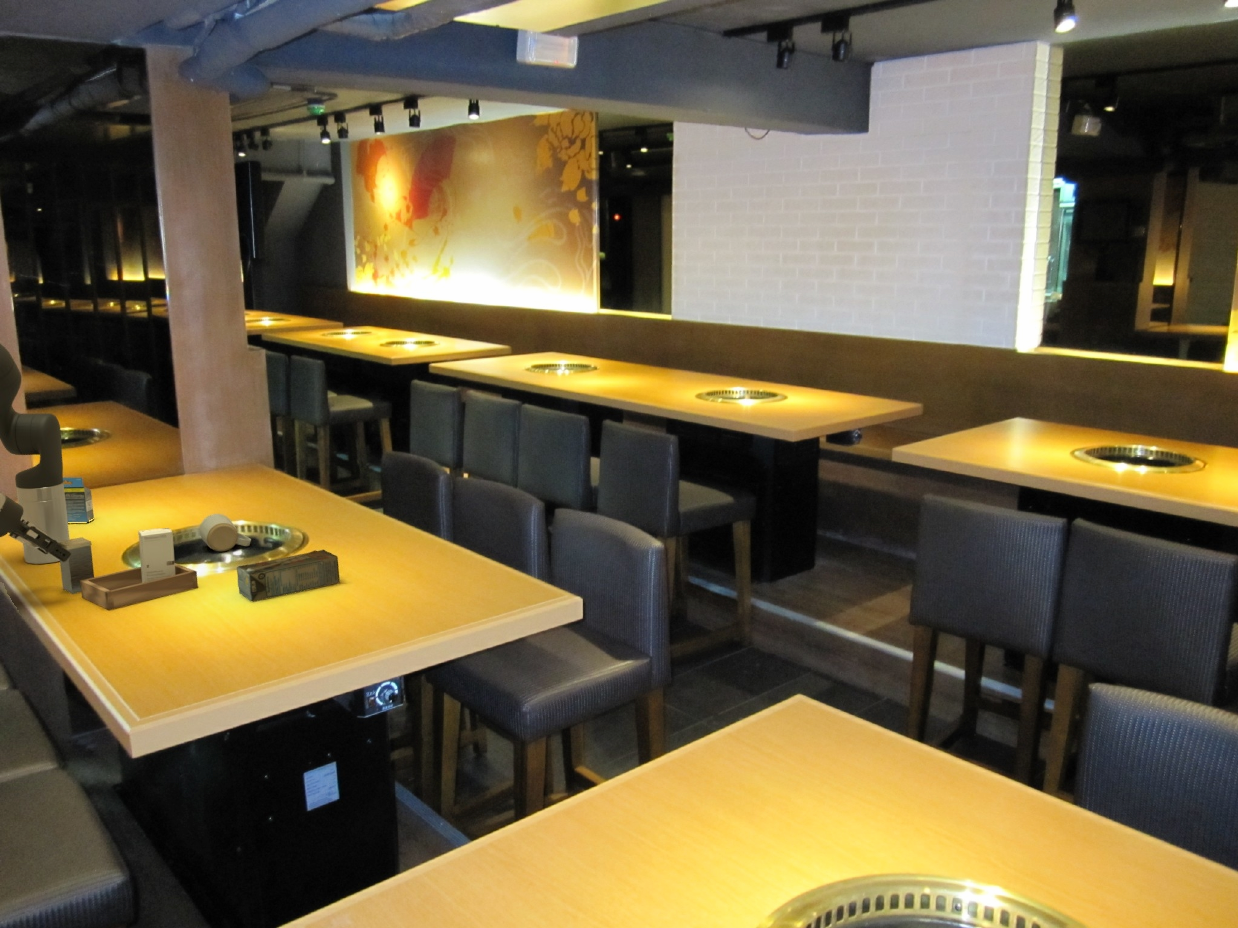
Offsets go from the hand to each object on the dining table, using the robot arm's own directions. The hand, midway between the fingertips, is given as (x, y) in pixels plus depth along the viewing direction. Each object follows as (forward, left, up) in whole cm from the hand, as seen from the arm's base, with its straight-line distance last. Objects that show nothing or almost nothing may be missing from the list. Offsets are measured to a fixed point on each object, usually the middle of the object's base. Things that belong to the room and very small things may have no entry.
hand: (58, 553), depth 202 cm
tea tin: (0, +3, -8) cm, 9 cm away
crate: (+12, +10, -8) cm, 18 cm away
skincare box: (+12, +14, -8) cm, 20 cm away
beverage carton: (+33, +31, -9) cm, 46 cm away
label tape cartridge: (-58, +26, -8) cm, 64 cm away
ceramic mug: (-6, +39, -8) cm, 40 cm away
